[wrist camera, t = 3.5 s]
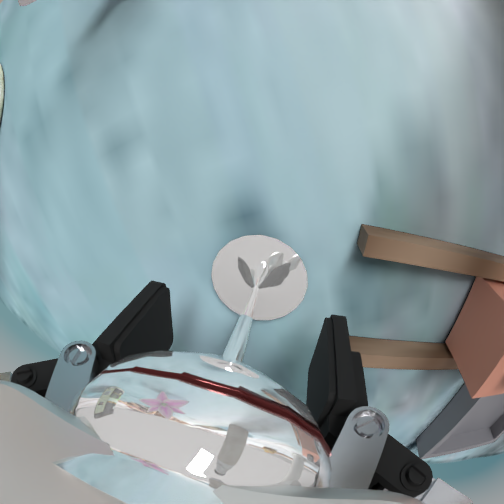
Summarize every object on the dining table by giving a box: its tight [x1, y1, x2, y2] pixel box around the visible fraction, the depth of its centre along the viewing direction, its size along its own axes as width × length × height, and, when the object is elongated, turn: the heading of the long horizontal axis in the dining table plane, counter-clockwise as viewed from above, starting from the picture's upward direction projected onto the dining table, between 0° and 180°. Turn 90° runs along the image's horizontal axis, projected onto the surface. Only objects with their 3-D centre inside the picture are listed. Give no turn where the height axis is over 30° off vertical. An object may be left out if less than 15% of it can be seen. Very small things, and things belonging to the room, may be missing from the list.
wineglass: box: [52, 235, 332, 504], centre depth 9 cm, size 7×7×12 cm
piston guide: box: [349, 224, 504, 370], centre depth 13 cm, size 15×10×2 cm
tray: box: [416, 383, 504, 459], centre depth 15 cm, size 12×12×2 cm
